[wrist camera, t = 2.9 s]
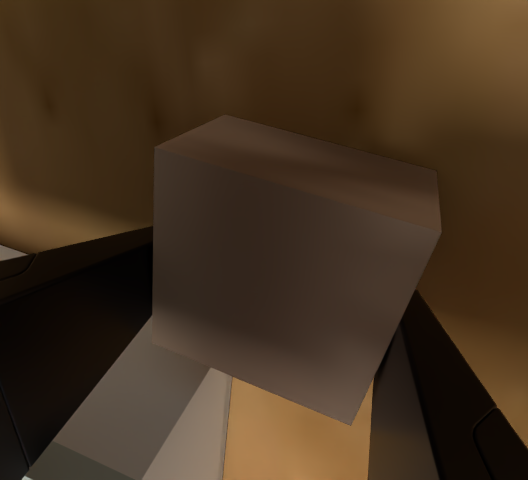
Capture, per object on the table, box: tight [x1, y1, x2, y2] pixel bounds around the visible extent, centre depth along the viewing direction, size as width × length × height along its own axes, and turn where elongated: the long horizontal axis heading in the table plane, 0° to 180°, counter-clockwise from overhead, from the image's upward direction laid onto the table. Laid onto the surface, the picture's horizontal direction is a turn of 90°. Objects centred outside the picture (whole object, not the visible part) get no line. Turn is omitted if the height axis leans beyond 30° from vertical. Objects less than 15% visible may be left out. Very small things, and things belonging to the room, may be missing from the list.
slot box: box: [0, 245, 232, 480], centre depth 15 cm, size 13×13×6 cm
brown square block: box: [152, 115, 442, 426], centre depth 9 cm, size 5×5×3 cm
